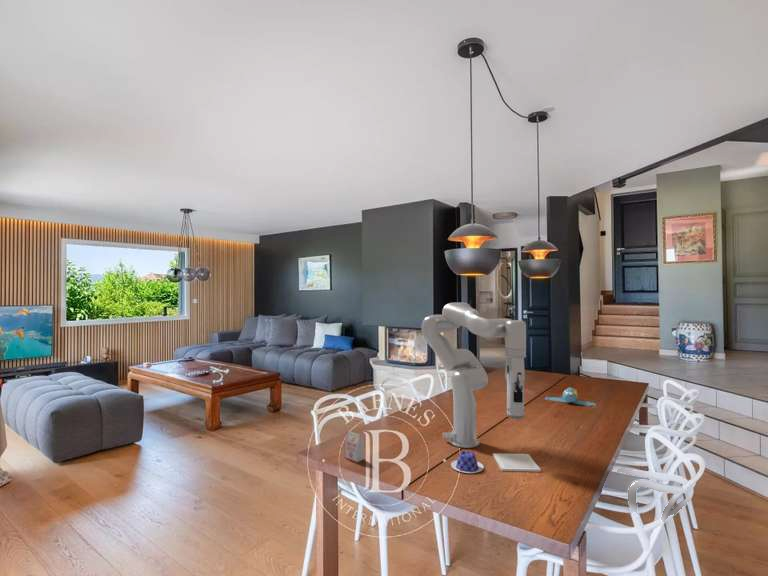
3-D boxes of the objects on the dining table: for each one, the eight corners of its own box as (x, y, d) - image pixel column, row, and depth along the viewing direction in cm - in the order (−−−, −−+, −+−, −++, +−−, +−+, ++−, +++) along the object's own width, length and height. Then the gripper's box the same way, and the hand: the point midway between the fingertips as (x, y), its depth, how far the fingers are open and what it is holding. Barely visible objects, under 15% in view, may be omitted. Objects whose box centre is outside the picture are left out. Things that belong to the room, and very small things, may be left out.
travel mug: (506, 418, 151) (506, 365, 151) (507, 413, 157) (507, 362, 157) (523, 420, 149) (524, 366, 149) (524, 415, 155) (524, 363, 155)
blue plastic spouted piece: (597, 388, 238) (595, 394, 225) (597, 403, 238) (595, 410, 225) (547, 382, 253) (542, 388, 240) (547, 396, 253) (542, 402, 240)
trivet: (501, 471, 146) (501, 468, 146) (492, 455, 160) (492, 453, 160) (540, 471, 146) (540, 469, 146) (528, 455, 160) (528, 453, 160)
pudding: (447, 461, 155) (447, 448, 155) (477, 460, 156) (477, 446, 156) (456, 476, 143) (456, 461, 143) (488, 474, 144) (488, 459, 144)
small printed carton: (351, 454, 161) (351, 429, 161) (363, 459, 156) (363, 433, 156) (344, 457, 158) (344, 432, 158) (356, 462, 153) (356, 436, 154)
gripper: (499, 349, 162) (499, 393, 162) (512, 356, 145) (511, 406, 145) (518, 349, 162) (518, 394, 162) (533, 356, 145) (532, 406, 145)
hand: (515, 399), depth 153 cm, fingers closed on travel mug, 6 cm apart
